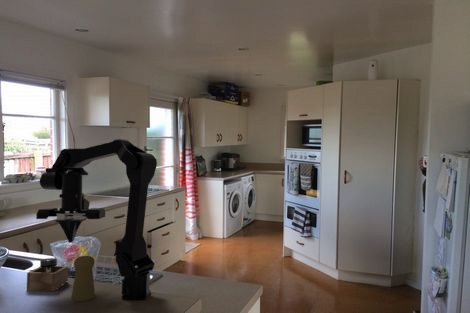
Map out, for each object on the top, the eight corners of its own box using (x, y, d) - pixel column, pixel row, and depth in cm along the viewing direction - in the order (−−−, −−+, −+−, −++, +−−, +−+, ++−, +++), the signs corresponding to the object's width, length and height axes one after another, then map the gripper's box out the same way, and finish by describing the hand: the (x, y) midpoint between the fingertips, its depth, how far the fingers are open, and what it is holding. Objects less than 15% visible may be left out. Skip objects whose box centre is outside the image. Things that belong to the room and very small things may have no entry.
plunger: (62, 282, 112) (62, 257, 112) (52, 288, 106) (53, 262, 107) (43, 282, 112) (44, 257, 112) (33, 288, 106) (34, 262, 107)
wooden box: (67, 282, 113) (68, 266, 113) (54, 291, 105) (55, 273, 105) (41, 281, 113) (42, 265, 113) (26, 290, 105) (27, 272, 105)
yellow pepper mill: (86, 302, 97) (87, 259, 98) (66, 300, 98) (67, 258, 99) (99, 294, 103) (100, 254, 104) (80, 292, 104) (81, 253, 105)
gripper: (111, 189, 120) (110, 237, 120) (54, 189, 120) (53, 237, 120) (98, 191, 109) (98, 244, 109) (35, 190, 109) (34, 244, 109)
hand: (71, 242), depth 112 cm, fingers closed
